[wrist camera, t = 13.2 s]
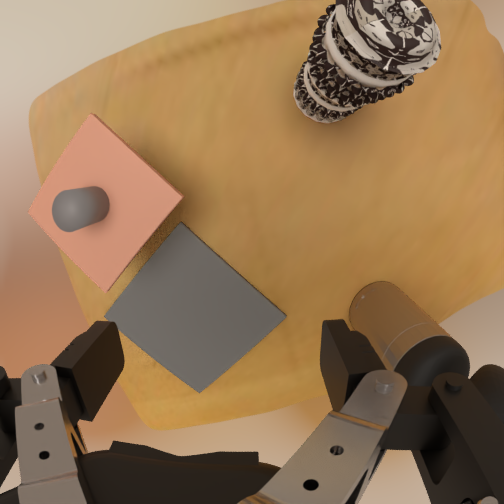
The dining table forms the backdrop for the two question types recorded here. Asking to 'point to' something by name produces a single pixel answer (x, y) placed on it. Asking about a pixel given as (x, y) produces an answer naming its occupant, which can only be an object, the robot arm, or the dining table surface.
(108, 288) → the lid
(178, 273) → the mat
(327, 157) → the dining table surface
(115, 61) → the dining table surface
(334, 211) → the dining table surface
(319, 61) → the decorative candle
